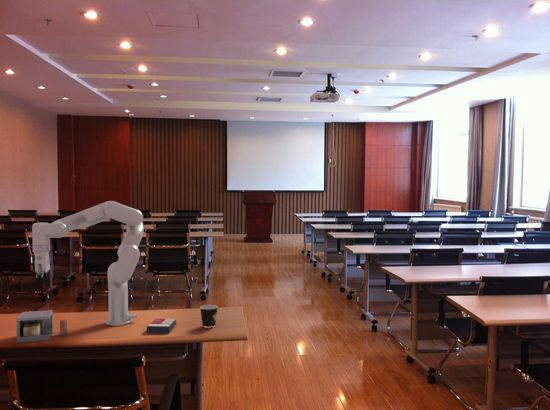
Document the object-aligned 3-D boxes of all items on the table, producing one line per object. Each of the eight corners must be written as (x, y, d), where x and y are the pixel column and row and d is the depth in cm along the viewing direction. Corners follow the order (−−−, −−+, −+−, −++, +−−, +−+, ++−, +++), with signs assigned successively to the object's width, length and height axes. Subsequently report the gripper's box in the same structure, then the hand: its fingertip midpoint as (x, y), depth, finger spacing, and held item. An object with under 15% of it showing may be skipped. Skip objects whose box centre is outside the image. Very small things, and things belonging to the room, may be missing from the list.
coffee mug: (206, 330, 230) (206, 310, 230) (197, 326, 237) (197, 306, 237) (225, 325, 238) (225, 306, 238) (216, 321, 245) (216, 303, 244)
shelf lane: (52, 332, 226) (52, 310, 226) (48, 340, 215) (48, 316, 214) (22, 335, 222) (22, 312, 222) (16, 342, 211) (16, 318, 211)
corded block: (67, 332, 225) (67, 318, 225) (66, 336, 220) (65, 322, 219) (26, 336, 220) (26, 321, 220) (23, 340, 214) (23, 325, 214)
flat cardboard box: (176, 318, 240) (168, 325, 225) (176, 326, 240) (168, 334, 225) (155, 317, 240) (146, 325, 225) (155, 326, 240) (146, 334, 225)
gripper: (46, 250, 216) (47, 287, 217) (53, 245, 233) (54, 279, 234) (28, 251, 214) (29, 288, 215) (36, 246, 231) (37, 280, 232)
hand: (42, 283), depth 225 cm, fingers open, 9 cm apart
